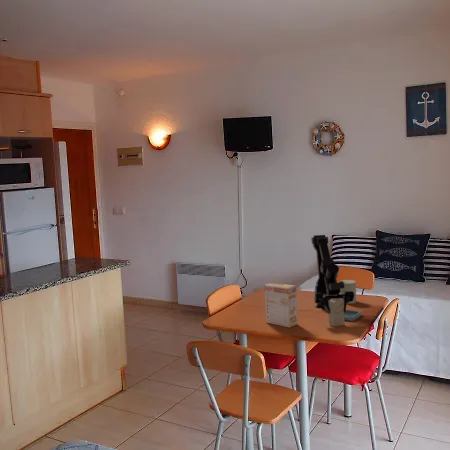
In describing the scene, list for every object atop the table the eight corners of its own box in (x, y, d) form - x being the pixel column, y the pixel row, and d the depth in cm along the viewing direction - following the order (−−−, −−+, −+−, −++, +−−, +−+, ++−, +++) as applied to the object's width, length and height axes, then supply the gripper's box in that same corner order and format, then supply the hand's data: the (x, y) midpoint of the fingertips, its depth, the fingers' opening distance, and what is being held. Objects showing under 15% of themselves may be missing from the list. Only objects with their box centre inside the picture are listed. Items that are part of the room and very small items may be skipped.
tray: (329, 318, 258) (329, 314, 258) (339, 312, 268) (339, 308, 268) (352, 321, 251) (352, 317, 251) (361, 315, 261) (361, 311, 261)
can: (336, 302, 288) (335, 281, 287) (346, 298, 295) (345, 278, 293) (350, 304, 282) (349, 283, 280) (359, 301, 288) (359, 280, 287)
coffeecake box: (298, 324, 251) (296, 285, 249) (289, 328, 246) (287, 288, 244) (274, 319, 262) (273, 281, 260) (265, 322, 257) (263, 284, 255)
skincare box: (334, 327, 244) (333, 302, 242) (328, 325, 248) (327, 300, 246) (345, 324, 246) (344, 300, 245) (339, 322, 250) (338, 298, 249)
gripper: (314, 276, 249) (319, 304, 239) (352, 274, 248) (359, 302, 239) (312, 288, 257) (316, 316, 247) (349, 287, 257) (355, 314, 247)
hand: (337, 312), depth 245 cm, fingers closed on skincare box, 7 cm apart
